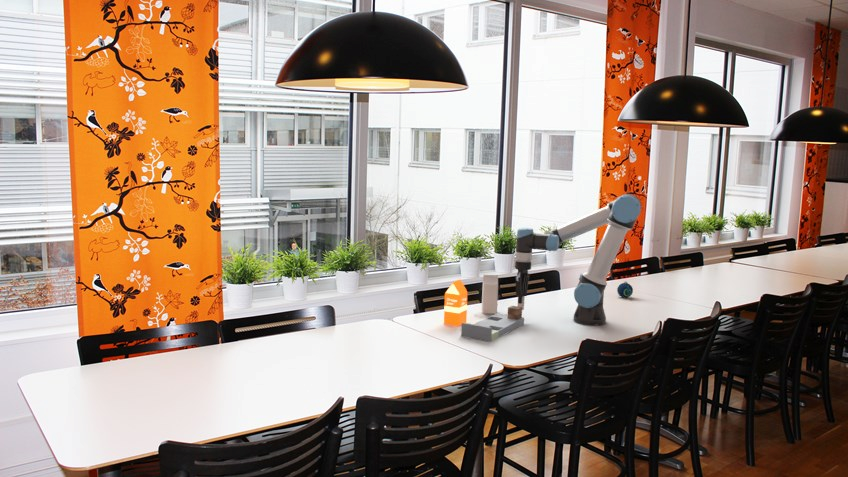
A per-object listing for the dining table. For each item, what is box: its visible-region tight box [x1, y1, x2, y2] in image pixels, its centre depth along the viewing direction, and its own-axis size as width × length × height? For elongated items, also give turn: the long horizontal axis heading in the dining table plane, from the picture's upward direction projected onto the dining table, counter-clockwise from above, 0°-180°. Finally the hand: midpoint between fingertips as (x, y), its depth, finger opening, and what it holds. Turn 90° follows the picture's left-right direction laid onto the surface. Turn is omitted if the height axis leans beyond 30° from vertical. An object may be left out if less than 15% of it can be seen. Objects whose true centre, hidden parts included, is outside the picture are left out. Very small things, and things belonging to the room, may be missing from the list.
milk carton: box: [481, 274, 499, 315], centre depth 330 cm, size 7×7×19 cm
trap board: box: [460, 312, 525, 343], centre depth 298 cm, size 14×36×6 cm, turn 149°
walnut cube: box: [507, 305, 523, 320], centre depth 309 cm, size 5×5×5 cm
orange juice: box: [443, 279, 468, 327], centre depth 308 cm, size 8×9×20 cm
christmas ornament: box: [616, 280, 634, 299], centre depth 372 cm, size 8×8×10 cm
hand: (520, 309), depth 316 cm, fingers closed
